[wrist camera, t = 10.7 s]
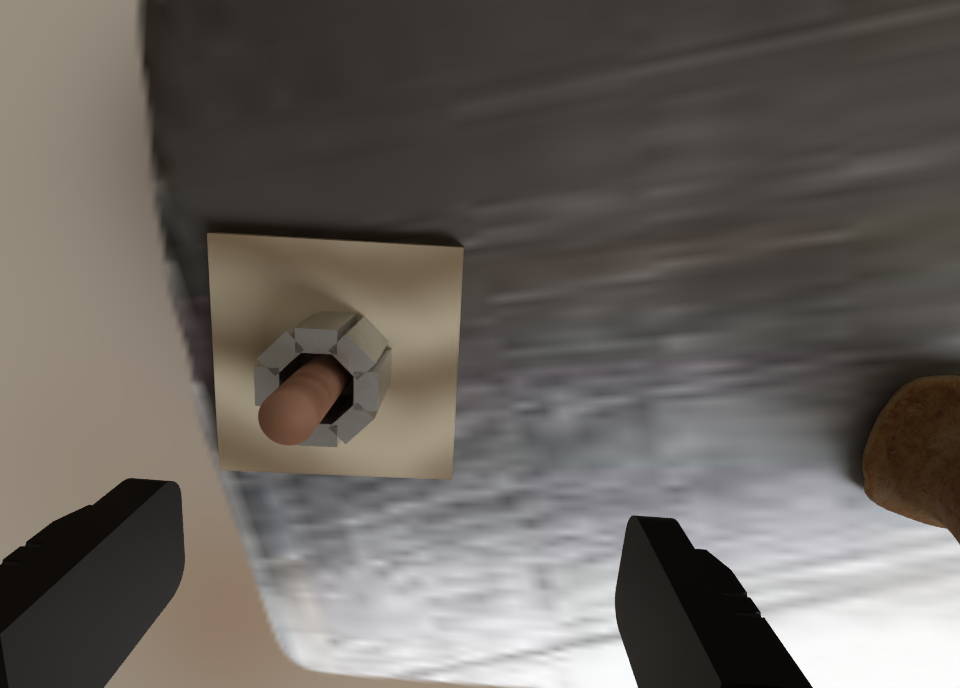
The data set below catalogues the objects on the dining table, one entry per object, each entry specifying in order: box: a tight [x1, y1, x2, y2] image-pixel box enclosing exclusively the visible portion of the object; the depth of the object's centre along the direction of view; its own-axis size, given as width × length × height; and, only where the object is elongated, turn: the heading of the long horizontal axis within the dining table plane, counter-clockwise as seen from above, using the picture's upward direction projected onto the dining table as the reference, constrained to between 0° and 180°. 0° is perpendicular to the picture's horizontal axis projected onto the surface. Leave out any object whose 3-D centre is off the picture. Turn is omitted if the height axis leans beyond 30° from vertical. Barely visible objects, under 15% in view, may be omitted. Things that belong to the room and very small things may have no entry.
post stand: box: [207, 232, 464, 480], centre depth 28 cm, size 14×14×10 cm
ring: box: [254, 311, 392, 447], centre depth 29 cm, size 6×6×5 cm
